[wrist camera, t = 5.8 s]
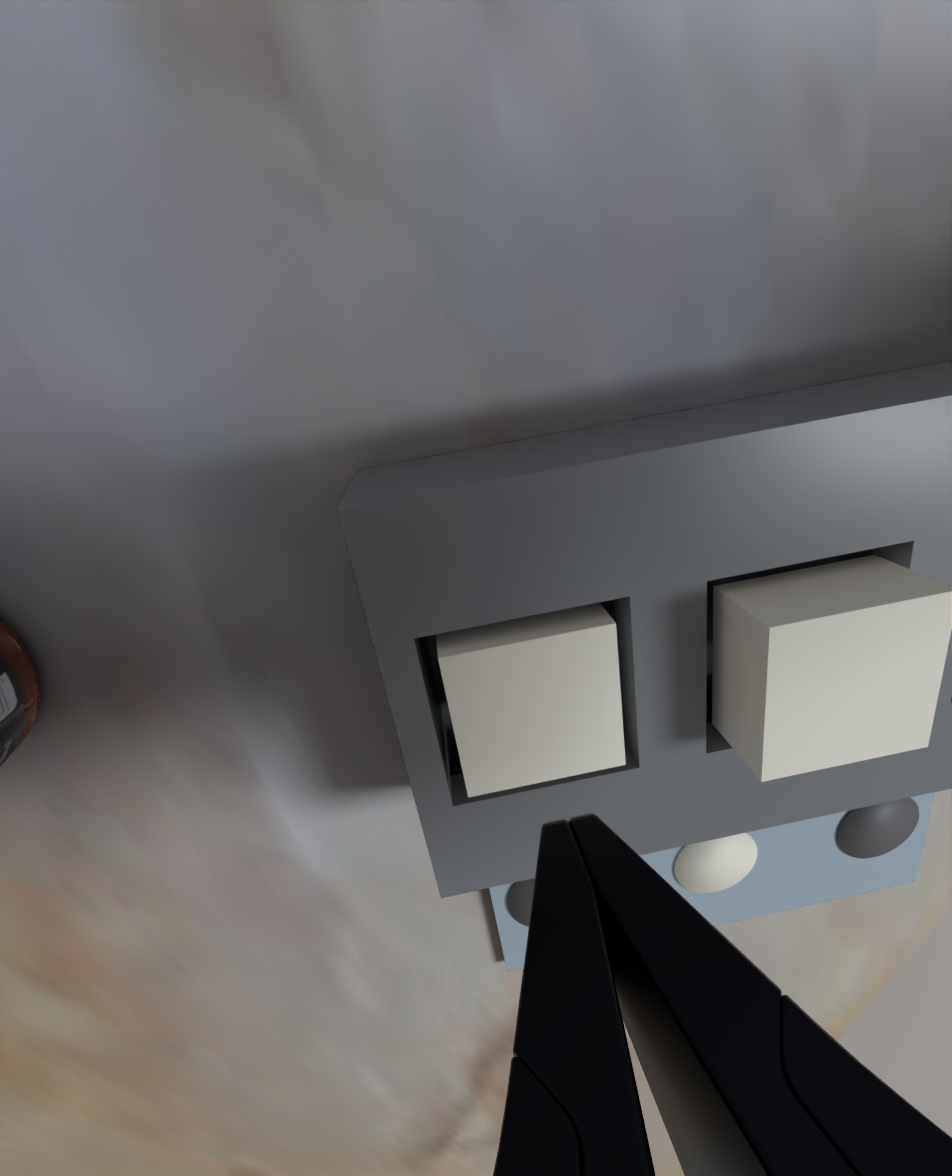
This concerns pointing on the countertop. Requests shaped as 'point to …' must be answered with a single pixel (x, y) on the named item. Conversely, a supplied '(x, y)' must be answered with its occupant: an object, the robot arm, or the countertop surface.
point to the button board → (648, 596)
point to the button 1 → (534, 697)
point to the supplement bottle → (15, 692)
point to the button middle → (828, 664)
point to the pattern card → (766, 868)
